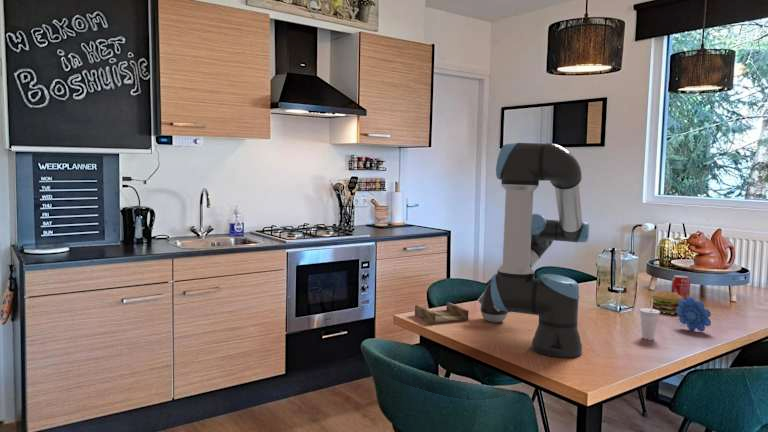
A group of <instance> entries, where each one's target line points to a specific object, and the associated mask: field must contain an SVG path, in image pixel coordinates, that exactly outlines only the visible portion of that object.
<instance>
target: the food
mask: <svg viewBox="0 0 768 432" xmlns="http://www.w3.org/2000/svg"><path fill="white" fill-rule="evenodd" d="M651 298H653V309H655V310H658V311H660V313H661V312H665V313H664V314H666V313H677V312H676V308H677V307H680V305H679V301H680V300H681V299H682V297H681V296H680V295H678V294H676V293H673V292H671V291H665V290H664V291H658V292H656V293H654V294H653V295H652V296H651V297H650V300H649V303H650V304H649V305H650V307H651Z"/></svg>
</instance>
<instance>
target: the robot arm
mask: <svg viewBox="0 0 768 432" xmlns="http://www.w3.org/2000/svg"><path fill="white" fill-rule="evenodd" d="M495 172H496V173H495V176H496V179H497V180H500V182H501V183H500V184H501V187H502V188H503V189H504V190H505V199H504V200H505V201H504V203H505V204H504V224H503V226H504V227H503V247H502V248H503V249H502V264H501V266H499V267H498V268H497V271H496V273H494V274H493V275H492V277H491V278H490V279H489V280H488V281H487V282H486V283H485V286H486V287H487V285H488V284H489V283H490V282H491V296H492V301H493V304H494V308H495V309H496V310H497V311H498V312H499V311H500V310H503V311H507V312H508V313H518V314H524V315H534V316H538V325H537V328H536V330H535V333H534V337H533V338H532V341H531V349H532V351H534V352H536V353H538V354H541V355H544V356H547V357H554V358H564V359H565V358H567V359H570V358H576V357H579V356H581V355H582V353H583V344H582V342H581V338H580V333H579V329H578V319H579V318H578V315H579V299H580V286H579V284H578V282H577V281H576V280H574V279H572V278H569V277H567V276H564V275H560V274H552V273H543V274H541V275H540V276H539V277H535V270H534V269H533V268H532V267H534V266H535V265H536V263H538V261H539V260H540V259H541V258H542V256H543V255H544V254H545V252H546V251H547V250H548V249H549V248H550V247H551V246H552V244H553V242H555V241H556V242H567V243H568V242H570V243H575V244H577V243H587V242H588V240H589V235H590V223H589V222H587V221H583V217H582V216H583V215H582V214H583V213H582V205H581V204H582V203H581V194H580V183H581V181H582V168H581V166H580V163H579V162H578V160H577V159H576V157H575V156H574V155H573V154H572V153H571V152H570V151H569V150H567V148H565V147H563V146H561V145H559V144H557V143H551V142H546V143H542V142H541V143H537V142H533V143H532V142H513V143H511V142H510V143H506V144H504V145H503V146H502V147H501V149H500V151H499V152H498V156H497V161H496V166H495ZM539 181H540V182H541V181H549V182H550V183H551V185H552V186H553V187H554V191H555V192H554V193H555V198H556V205H557V213H558V219H559V220H558V219H557V220H556V219H546V218H545V217H544V215H542V214H540V213H533V209H534V208H533V206H534V191H536V190H537V189H538V188H539V186H540V185H539V183H540V182H539ZM484 292H485V290H484V291H483V292H482V294H481V295H480V296H479V297H478V299H477V301H478V303H479V304H480V305H481V302H482V297H483V294H484Z"/></svg>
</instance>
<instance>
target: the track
mask: <svg viewBox="0 0 768 432" xmlns="http://www.w3.org/2000/svg"><path fill="white" fill-rule="evenodd" d="M414 316H415V317H417V318H419V319H421V320H423V321H425V322H426V323H429V324H430V325H432V326H434V325H444V324H446V325H447V324H453V323H462V322H469V309H466V308H463V307H461V306H459V305H457V304H455V303H452V302H449V301H448V302H446V309H442V310H429V309H427V308H425V307H422V306H421V305H418V304H416V305H414Z"/></svg>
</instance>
